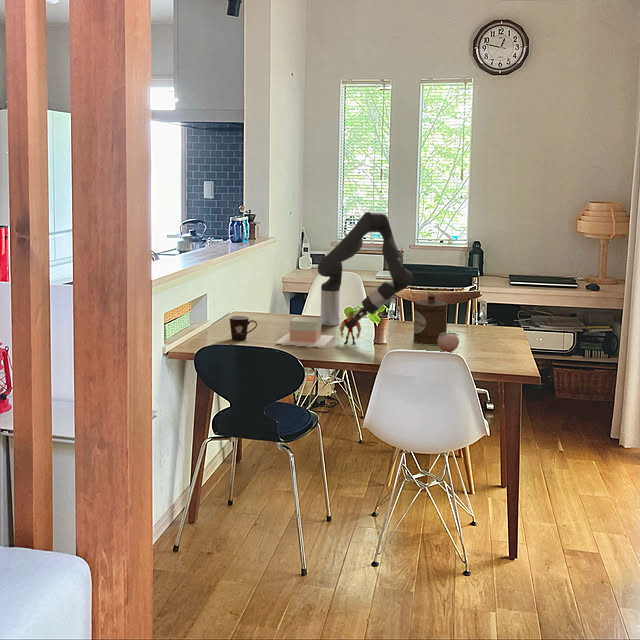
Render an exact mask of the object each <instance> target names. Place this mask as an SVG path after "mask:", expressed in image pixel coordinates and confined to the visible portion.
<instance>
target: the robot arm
mask: <svg viewBox="0 0 640 640" xmlns="http://www.w3.org/2000/svg"><path fill="white" fill-rule="evenodd" d="M368 233H379V234H380V235H381V237H382V240H383V241H382V242H383V243H382V249H381V252H382V255H383V256H382V257H383V258H384V261H385V262H386V265H387V266H388V271H389V274H390V277H391V279H392V280H391V281H387V280H386V281H384V282H382V283H381V285H379V286H378V287H377V288H375V289H374V290H373V291H372V292H371V293H369V295H368V296H366V297H365V298H364V299H363V300H362V301H361V305H362V306H363V307H360V308H359V309H358V310H357V312H355V313H354V315H353V318H351V320H350V321H349V322H348V323H347V324H346V325H345V327H346V329H348V328H350V327H351V326H352V325H353V324H354V323H356V322H357V321H358V322H360V321H361V319H363V318H365V317H366V316H367V315H368V313H369V314H371V315H374V314H375V313H376V312H377V311H379V310H380V309H381V307H383V306H384V305H385V304H386V303H387V302H388V300H390V299H391V298H392V297H393V296H394V295H396V294H397V293H399V292H401V291H404V290H405V289H407V288H408V287H409V286H410V285H411V284H412V282H413V280H414V275H413V273H412V272H411V271H409V270H408V269H406V268H405V267H404V265H403V263H404V260H403V257H402V255H401V253H400V251H399V249H398V247H397V245H396V242H395V238H394V235H393V232H392V229H391V225H390V222H389V218H388V216H387V215H386V213H384V212H382V211H366V212H364V214H363V215H362V216H361V217H360V218H359V219H358V221H357V223H356V224H355V226H354V227H353V228H352V229H351V230H350V231H349V232H348V233H347V234H346V235H345V236H344V238H343V239H341V240H340V242H339V243H338V244H337V245H336V246H335V247H334V248H333V249H332V250H331V251H330V252H328V253H327V255H324V257H322V258H321V259H320V260H319V262H318V264H317V272H318V274H319V275H320V276H321V277H325V278H327V277H329V278H328V280H326V281H325V282H323V283H322V284H321V287H320V317H319V318H321V326H331V327H332V326H339V324H340V322H339V321H340V300H341V298H340V293H341V290H340V289H341V286H342V276H343V263H342V262H345V261H347V260H349V259H351V258H353V257H354V256H355V255H357V253H358V252H359V251H360V250H361V248H362V247H363V238H364V237H365V236H366V235H367V234H368ZM367 312H368V313H367ZM354 318H355V319H356V320H355V319H354Z"/></svg>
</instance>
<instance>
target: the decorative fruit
mask: <svg viewBox="0 0 640 640" xmlns="http://www.w3.org/2000/svg"><path fill="white" fill-rule="evenodd" d="M459 335H460V334H458V333H457V332H450V330H448V332H446V333H441V334H440V335H439V338H438V341H437V342H438V345H437V346H438V348H440V350H442V352H444V351H447V352H449V353H451V352H454V351H455V350H457V348H458V346H459V345H460V339H459Z"/></svg>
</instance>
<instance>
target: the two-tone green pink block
mask: <svg viewBox="0 0 640 640" xmlns="http://www.w3.org/2000/svg"><path fill="white" fill-rule="evenodd" d="M334 339H335V335H328V334H327V335H324V334H322V324H321V318H320V317H319V318H318V317H308V316H307V317H305V316H295V317H293V318H292V319H291V320H289V332H287V333H286V334H285V335H283V336H282V337H281V338H279V339H278V340H277V341H275V344H282V345H281V346H285V345H298V346H307V347H306V348H312V347H318V348H317V349H325V348H326V347H327V346H328V345H329V344H330V343H331V342H332V341H334ZM298 346H297V347H298Z"/></svg>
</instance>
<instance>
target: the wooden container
mask: <svg viewBox="0 0 640 640" xmlns="http://www.w3.org/2000/svg"><path fill="white" fill-rule="evenodd" d="M447 317H448V302H446V301H442V300H437V299H436V295H435V294H434V293H429V294H428V295H427V299H424V300H423V299H421V300H415V302H414V319H413V342H414V343H416V342H417V343H416V344H419V343H422V344H421V345H424V344H438V342H437V341H438V338H439V335H440V334H441V333H447V330H448V329H447V328H448V327H447V325H448V320H447V319H448V318H447Z"/></svg>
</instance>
